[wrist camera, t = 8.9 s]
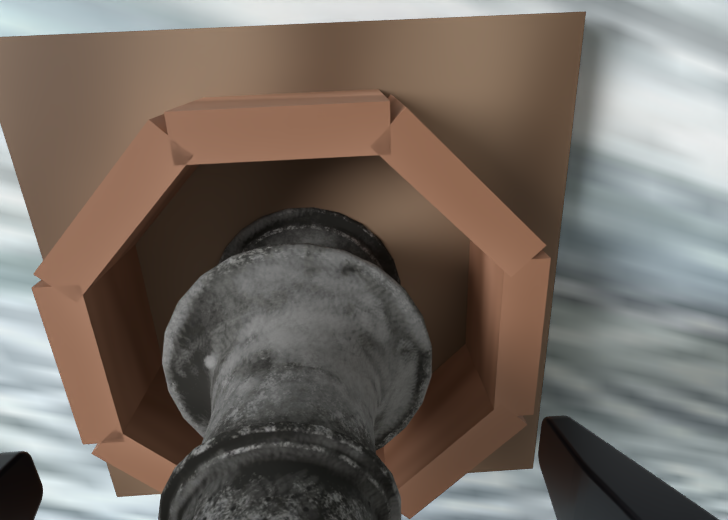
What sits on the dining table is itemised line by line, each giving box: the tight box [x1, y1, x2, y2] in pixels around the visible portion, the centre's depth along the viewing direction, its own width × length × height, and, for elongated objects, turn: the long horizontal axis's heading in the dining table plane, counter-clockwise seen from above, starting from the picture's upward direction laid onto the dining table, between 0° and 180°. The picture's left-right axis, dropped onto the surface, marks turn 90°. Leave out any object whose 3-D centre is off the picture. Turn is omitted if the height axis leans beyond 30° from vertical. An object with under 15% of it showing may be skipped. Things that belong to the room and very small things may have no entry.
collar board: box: [0, 12, 586, 519], centre depth 13 cm, size 14×14×4 cm
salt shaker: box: [158, 207, 432, 520], centre depth 9 cm, size 6×6×12 cm
